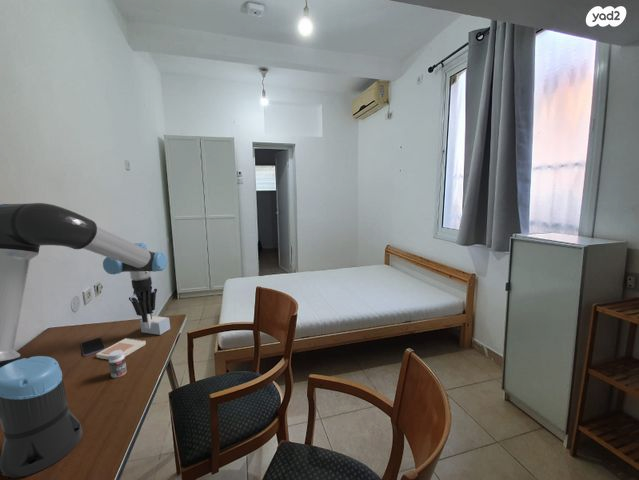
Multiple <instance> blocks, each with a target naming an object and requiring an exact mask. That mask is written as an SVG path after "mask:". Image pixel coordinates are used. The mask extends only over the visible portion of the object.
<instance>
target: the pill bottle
mask: <svg viewBox="0 0 639 480" xmlns="http://www.w3.org/2000/svg"><path fill="white" fill-rule="evenodd" d="M109 358H110V359H109V360H108V366H109V373H110V377H111V378H113V379H116V378H120V377H122V376H125V375H126V373H127V370H128V369H127V364H126V356H124V355H123V351H122V350H115V351H113V352H111V353H110V354H109Z"/></svg>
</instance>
